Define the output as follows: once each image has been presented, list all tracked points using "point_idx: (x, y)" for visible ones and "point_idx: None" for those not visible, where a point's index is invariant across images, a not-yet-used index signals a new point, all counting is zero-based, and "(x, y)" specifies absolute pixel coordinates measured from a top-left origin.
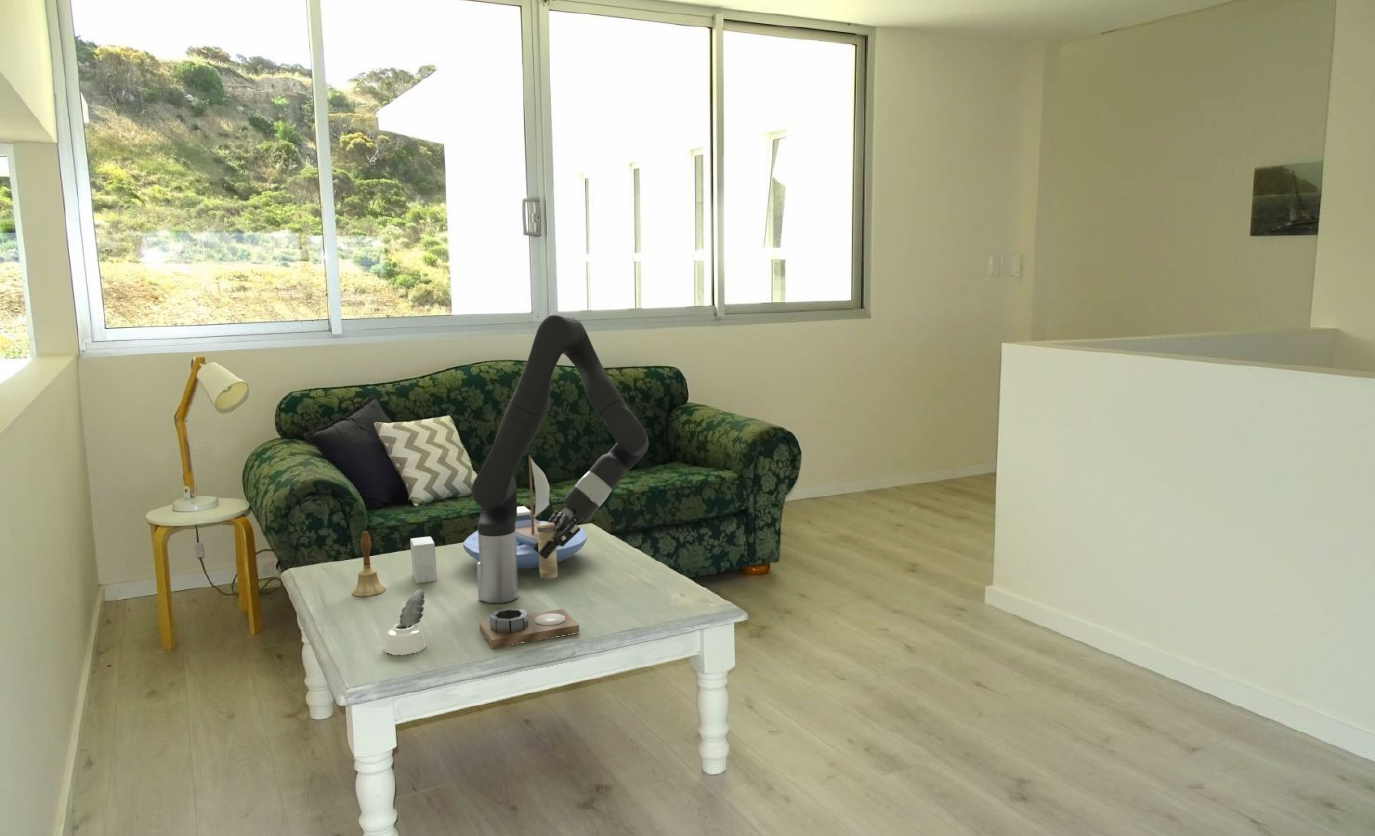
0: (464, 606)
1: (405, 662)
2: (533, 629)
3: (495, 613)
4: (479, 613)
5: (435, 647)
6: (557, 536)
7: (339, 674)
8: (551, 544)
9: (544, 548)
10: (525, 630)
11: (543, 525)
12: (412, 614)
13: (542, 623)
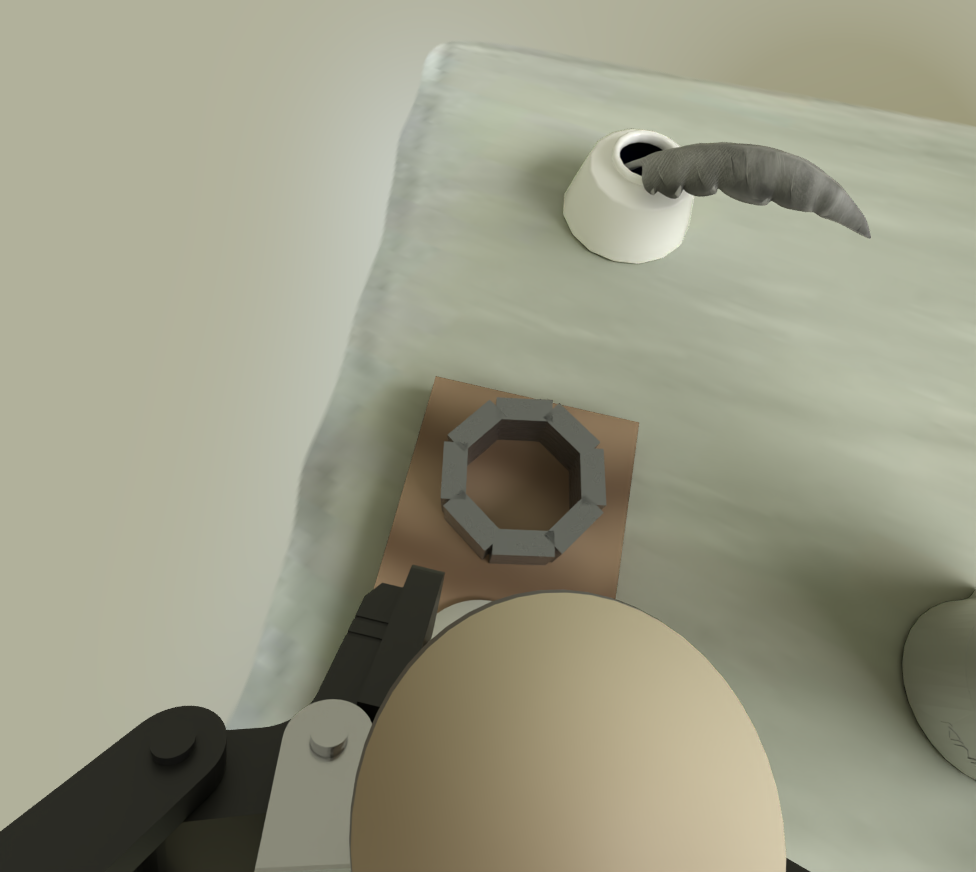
0: (931, 511)
1: (514, 175)
2: (425, 553)
3: (573, 434)
4: (819, 520)
5: (572, 271)
6: (132, 787)
7: (545, 55)
8: (317, 700)
9: (393, 619)
10: (437, 520)
11: (560, 727)
12: (674, 158)
13: (448, 614)
